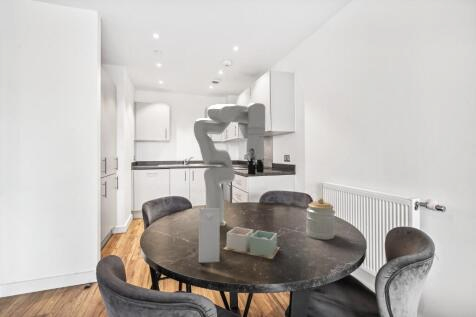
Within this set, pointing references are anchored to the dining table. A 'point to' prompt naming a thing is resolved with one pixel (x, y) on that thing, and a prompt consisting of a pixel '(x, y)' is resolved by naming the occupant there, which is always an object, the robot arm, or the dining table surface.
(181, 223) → the dining table surface
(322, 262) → the dining table surface
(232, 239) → the cream cup
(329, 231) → the jar
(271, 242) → the sage cup
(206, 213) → the milk carton
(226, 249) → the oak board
